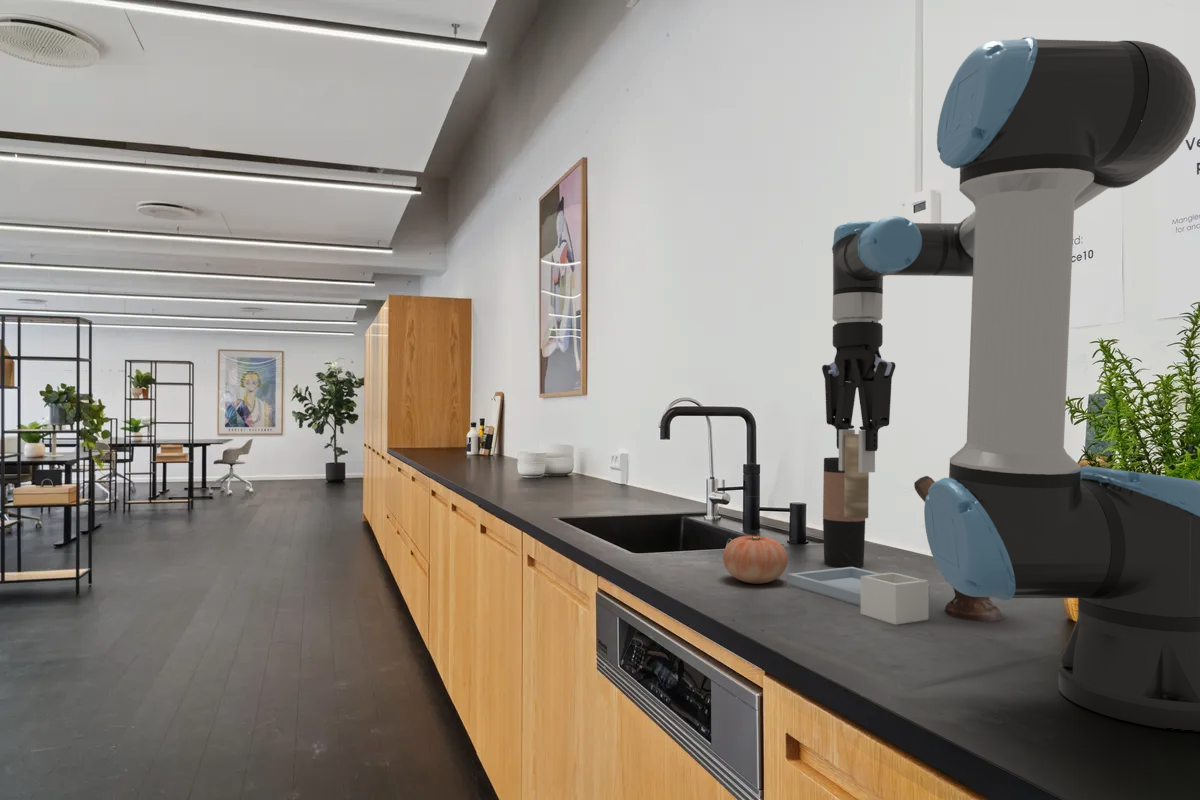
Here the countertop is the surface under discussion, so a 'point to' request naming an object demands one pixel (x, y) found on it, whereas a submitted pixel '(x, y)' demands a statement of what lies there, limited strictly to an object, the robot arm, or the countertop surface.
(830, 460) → the travel mug
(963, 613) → the mortar and pestle
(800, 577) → the tray
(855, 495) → the dowel
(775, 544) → the pumpkin
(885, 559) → the countertop surface
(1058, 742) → the countertop surface
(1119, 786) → the countertop surface
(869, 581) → the open box
